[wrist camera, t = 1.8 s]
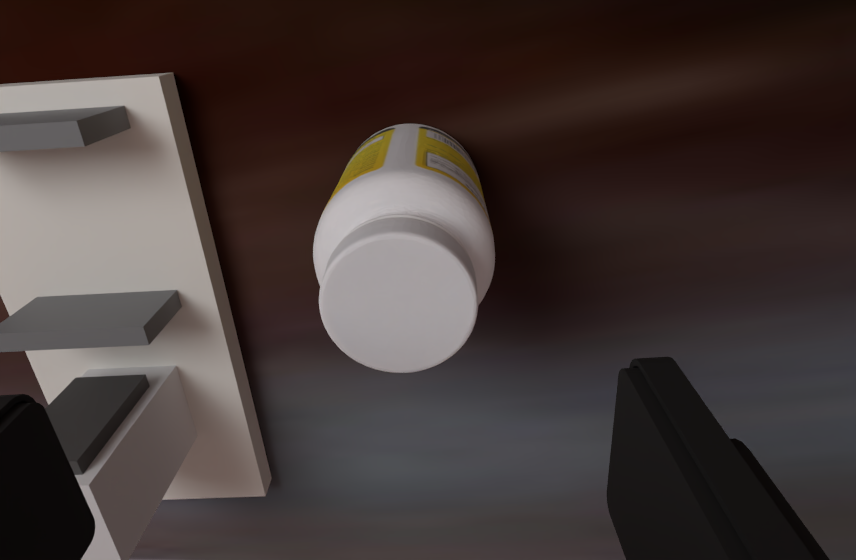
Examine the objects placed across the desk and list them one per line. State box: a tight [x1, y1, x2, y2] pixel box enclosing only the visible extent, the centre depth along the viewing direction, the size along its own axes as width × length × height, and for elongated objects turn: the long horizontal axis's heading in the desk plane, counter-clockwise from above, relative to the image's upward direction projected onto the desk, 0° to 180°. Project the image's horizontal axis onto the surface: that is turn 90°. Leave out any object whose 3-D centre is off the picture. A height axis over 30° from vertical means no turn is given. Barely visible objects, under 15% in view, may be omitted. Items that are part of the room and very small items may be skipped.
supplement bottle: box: [313, 124, 495, 373], centre depth 18 cm, size 5×5×10 cm
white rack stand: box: [0, 73, 272, 560], centre depth 22 cm, size 9×20×8 cm, turn 4°
